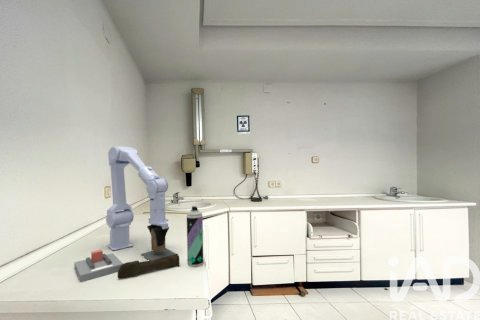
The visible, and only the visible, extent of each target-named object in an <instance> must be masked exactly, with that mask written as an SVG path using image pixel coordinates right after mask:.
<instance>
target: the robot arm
mask: <svg viewBox="0 0 480 320" xmlns="http://www.w3.org/2000/svg"><path fill="white" fill-rule="evenodd" d="M107 154H108V155H107V157H108V166H110V178H111V179H110V180H111V191H112V193H111V195H112V205H111V206H110V207H109V208H108V209H107V210H106V218H105V222H106V225H107V226H108V227H109V228H110V230H109V244H107V246H108V248H109V249H111V251H119V250H121V249H126V248H131V247H133V246H134V245H133V244H132V243H131V242H130V226H131V224H132V222H133V221H134V218H135V217H134V216H135V215H134V212H133V209H132V205H130V204H128V203H127V194H126V193H127V192H126V181H125V179H126V178H125V168H126V167H127V166H129V165H131V166H132V167H133V168H134V169H136V171H137V172H138V174H137V175H138V178H140V180H141V181H142V182H143V183H144V184H145V185H146V187H145V190H146V192H147V194H148V199H149V218H148V224H150V225H147V227H146V228H147V230H148V231H149V234H150V235H151V229H153V230H154V232H155V235H156V240H157V245H158V246H162V245H164V241H165V242H166V236H167V233H168V231H169V230H170V226H169V223H168V222H169V219H168V218H166V192H167V191H168V188H169V183H168V181H167V179H166V178H164V177H160V176H159V175H158V174H157V172H155V171H154V169H153V167H151V166H147V165H146V164H145V163H144V162H143V160H142V159H141V158H140V156H139V155H138V150H137V149H136V148H135V147H133V146H130V147H129V146H118V145H112V146H111V147H110V149H109V150H108V152H107Z"/></svg>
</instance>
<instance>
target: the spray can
mask: <svg viewBox="0 0 480 320" xmlns="http://www.w3.org/2000/svg"><path fill="white" fill-rule="evenodd" d="M203 223H204V221H203V212H202V211H200V210H199V209H198V206H197V205H195V206H194V205H192V207H191V210H189V212H188V213H186V247H187V253H186V254H187V255H186V256H187V266H188V267H190V268H191V267H192V268H197V267H201V266H202V265H204V233H203V232H204V229H203V228H204V224H203Z"/></svg>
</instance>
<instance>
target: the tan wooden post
mask: <svg viewBox="0 0 480 320" xmlns="http://www.w3.org/2000/svg"><path fill="white" fill-rule="evenodd" d="M150 239H151V240H150V242H151V246H150V247H151V251H154V252H158V251H162V250H165V249H166V248H167V247H166V240H165V241H164V245H162V246H158V245H157V240H156V235H155V232H154V230H153V229H151V234H150Z"/></svg>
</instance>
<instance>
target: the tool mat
mask: <svg viewBox="0 0 480 320" xmlns="http://www.w3.org/2000/svg"><path fill="white" fill-rule="evenodd" d="M174 254H177V253H176V252H174V251H172V250H170V249H168V248H167V247H166V249H165V250H162V251H158V252H154V251H153V250H151V251H147V252H143V253H140V256H142V257H143V256H144V257H145V258H144V257H143V258H144V259H145V260H146V261H148V260H154V259H159V258H162V257H166V256H172V255H174Z"/></svg>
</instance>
